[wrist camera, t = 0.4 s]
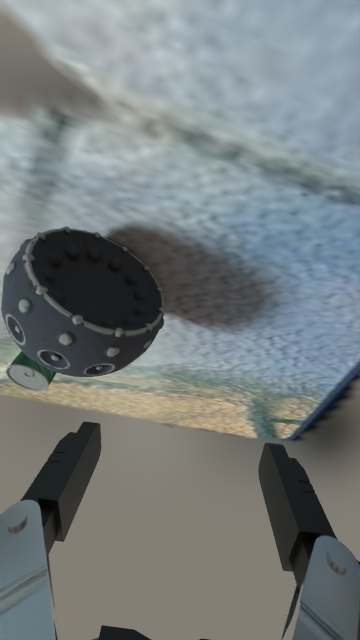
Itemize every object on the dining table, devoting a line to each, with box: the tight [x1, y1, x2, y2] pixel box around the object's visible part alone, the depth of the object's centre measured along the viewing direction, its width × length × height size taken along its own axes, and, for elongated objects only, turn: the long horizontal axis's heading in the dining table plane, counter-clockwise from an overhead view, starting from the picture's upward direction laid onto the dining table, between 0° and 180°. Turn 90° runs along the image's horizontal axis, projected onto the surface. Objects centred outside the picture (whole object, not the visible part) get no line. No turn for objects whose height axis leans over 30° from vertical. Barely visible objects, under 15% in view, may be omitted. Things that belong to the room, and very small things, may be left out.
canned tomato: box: [6, 351, 57, 391], centre depth 49 cm, size 8×8×11 cm
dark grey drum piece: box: [1, 227, 165, 377], centre depth 33 cm, size 11×20×20 cm, turn 54°
